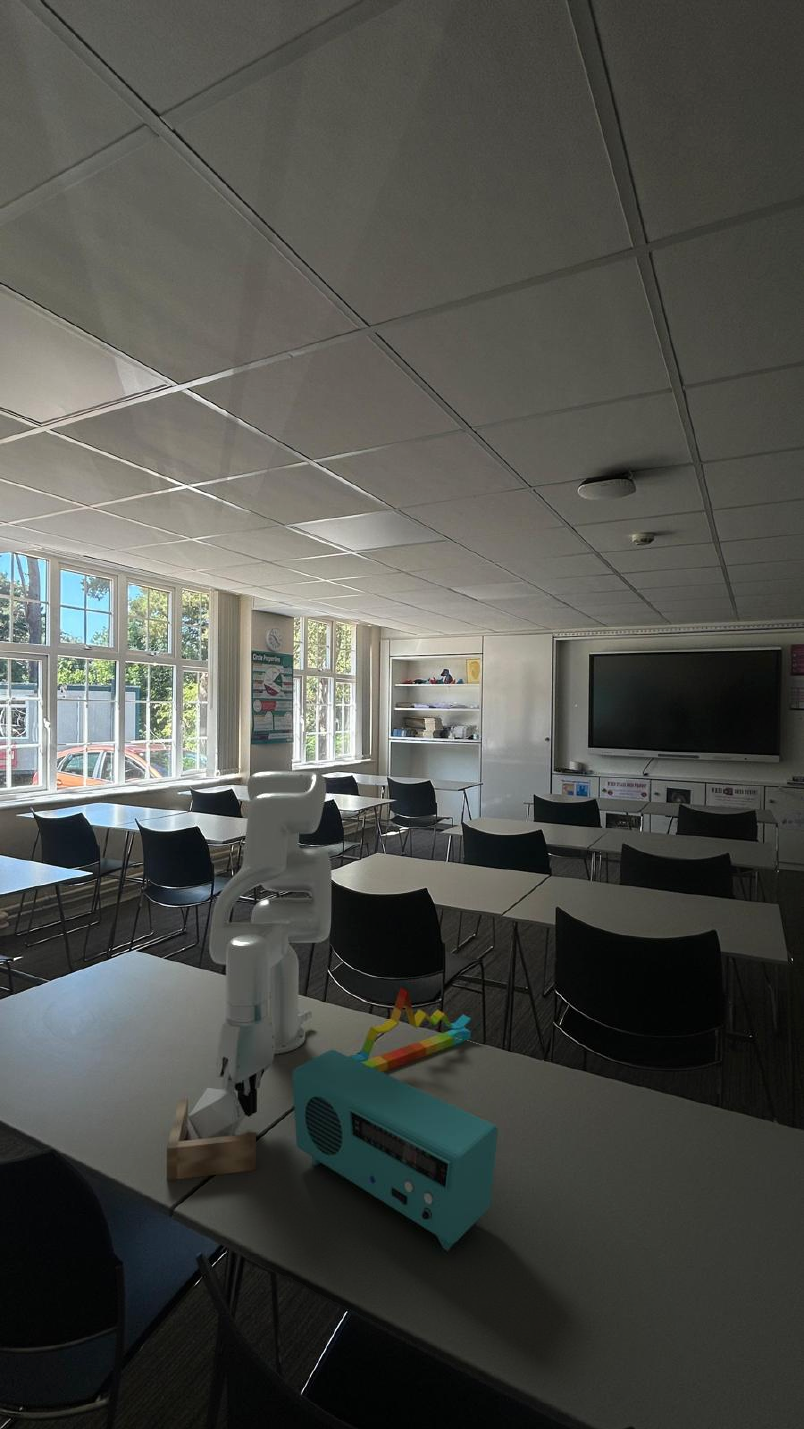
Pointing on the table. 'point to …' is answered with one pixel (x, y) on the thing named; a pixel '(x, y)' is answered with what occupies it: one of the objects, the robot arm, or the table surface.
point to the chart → (417, 1048)
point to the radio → (396, 1142)
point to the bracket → (206, 1151)
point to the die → (216, 1114)
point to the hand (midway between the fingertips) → (247, 1111)
